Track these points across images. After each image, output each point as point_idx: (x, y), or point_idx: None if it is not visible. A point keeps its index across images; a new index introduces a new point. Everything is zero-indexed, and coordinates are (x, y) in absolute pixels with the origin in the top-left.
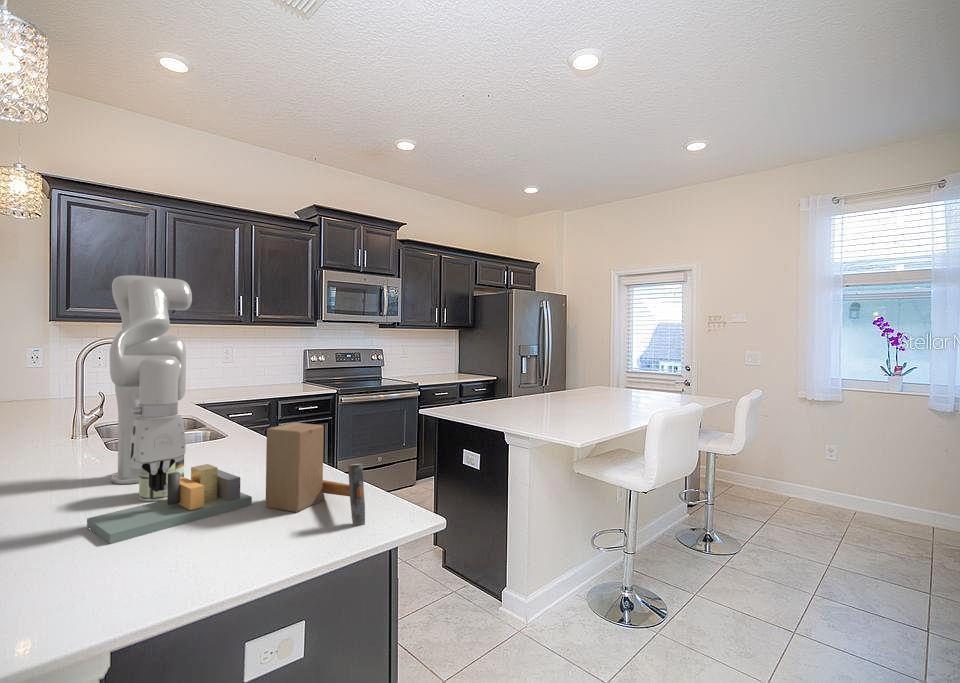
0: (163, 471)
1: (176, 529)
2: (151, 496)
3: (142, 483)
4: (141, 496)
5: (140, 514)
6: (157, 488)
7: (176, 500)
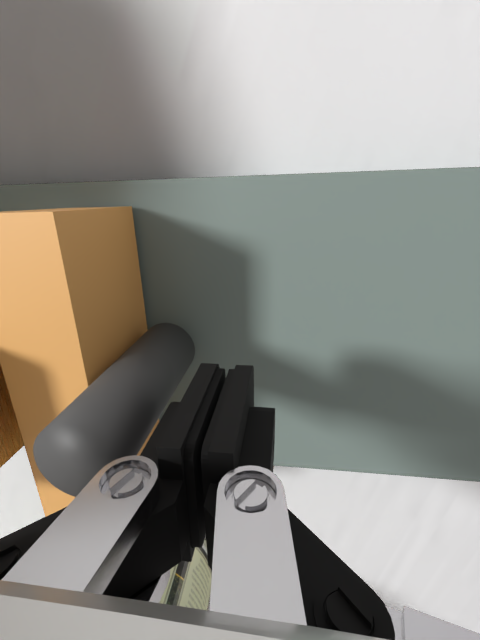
0: (154, 470)
1: (240, 120)
2: None
3: None
4: (210, 573)
5: (316, 356)
6: (244, 371)
7: (155, 330)
